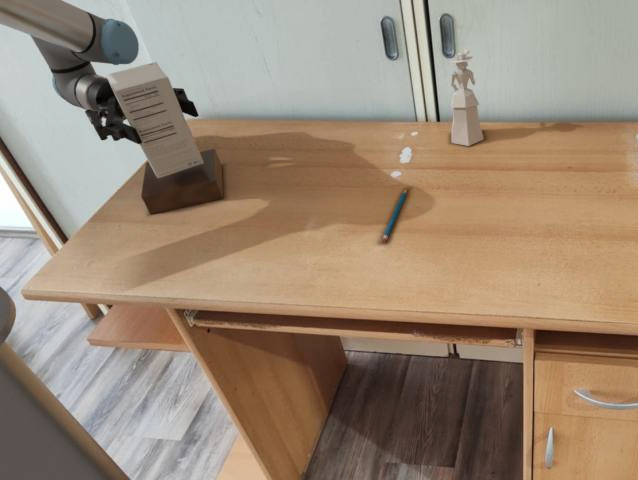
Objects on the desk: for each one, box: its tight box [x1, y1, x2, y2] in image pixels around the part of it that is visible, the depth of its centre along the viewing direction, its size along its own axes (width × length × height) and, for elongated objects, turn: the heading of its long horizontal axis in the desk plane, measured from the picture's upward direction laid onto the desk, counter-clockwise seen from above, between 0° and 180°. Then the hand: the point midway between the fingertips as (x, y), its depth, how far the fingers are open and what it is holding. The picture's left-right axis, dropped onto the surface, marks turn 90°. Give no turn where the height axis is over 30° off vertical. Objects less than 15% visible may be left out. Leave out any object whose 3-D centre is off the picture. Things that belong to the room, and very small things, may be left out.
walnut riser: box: [140, 148, 224, 215], centre depth 118 cm, size 14×14×4 cm
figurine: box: [449, 48, 484, 147], centre depth 120 cm, size 7×8×18 cm
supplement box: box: [105, 61, 204, 178], centre depth 109 cm, size 10×9×17 cm
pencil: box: [381, 189, 407, 244], centre depth 107 cm, size 1×17×1 cm, turn 170°
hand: (166, 122), depth 107 cm, fingers closed on supplement box, 11 cm apart
